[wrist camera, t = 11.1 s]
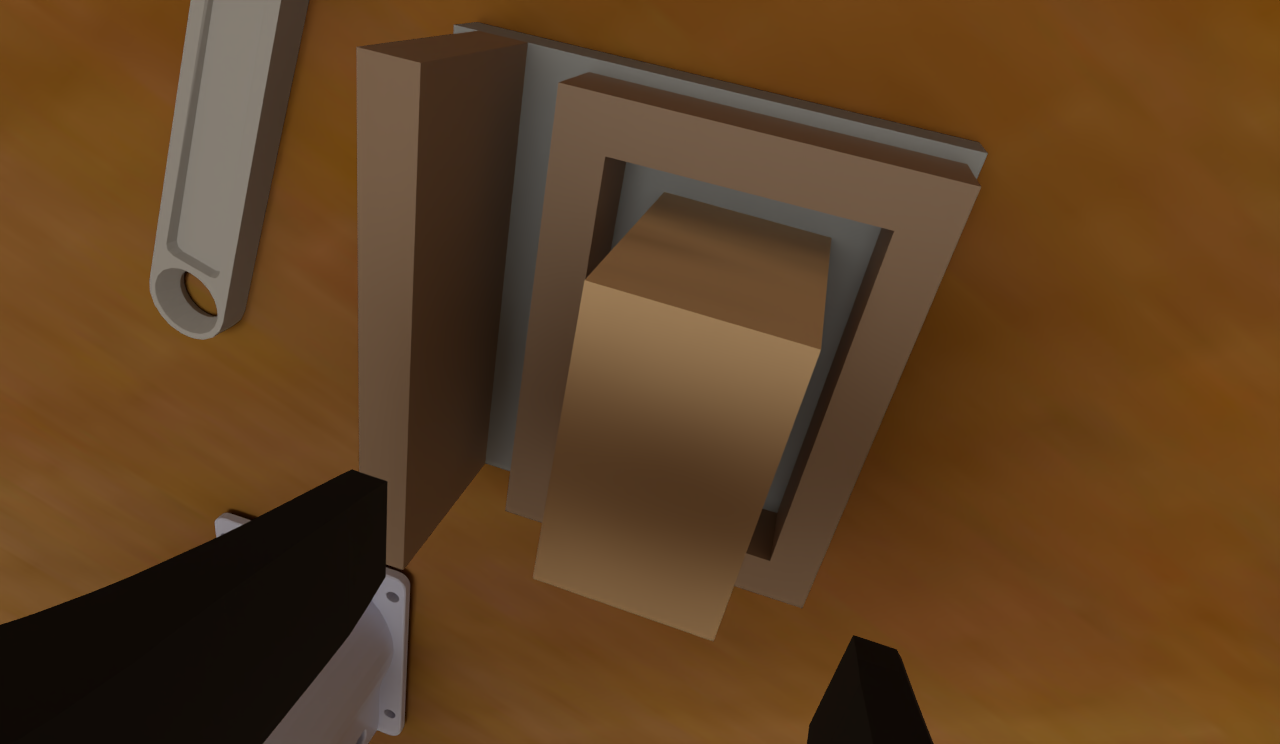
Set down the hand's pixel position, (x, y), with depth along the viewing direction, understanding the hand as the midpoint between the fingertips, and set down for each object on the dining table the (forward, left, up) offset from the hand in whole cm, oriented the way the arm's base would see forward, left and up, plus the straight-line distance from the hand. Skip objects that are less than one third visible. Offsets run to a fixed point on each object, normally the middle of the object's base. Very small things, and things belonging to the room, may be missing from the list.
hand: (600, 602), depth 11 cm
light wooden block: (0, 0, -9) cm, 9 cm away
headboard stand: (0, +1, -10) cm, 10 cm away
